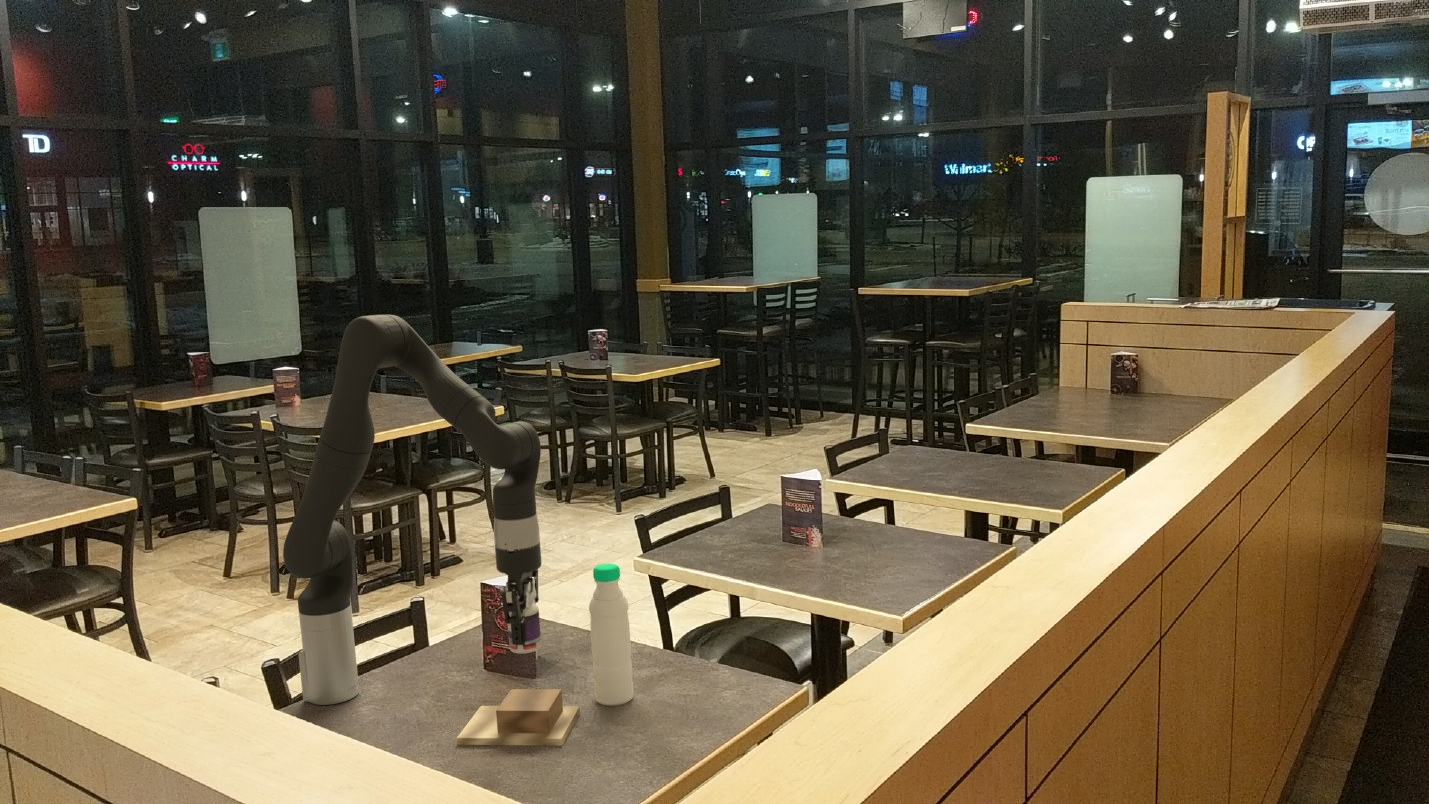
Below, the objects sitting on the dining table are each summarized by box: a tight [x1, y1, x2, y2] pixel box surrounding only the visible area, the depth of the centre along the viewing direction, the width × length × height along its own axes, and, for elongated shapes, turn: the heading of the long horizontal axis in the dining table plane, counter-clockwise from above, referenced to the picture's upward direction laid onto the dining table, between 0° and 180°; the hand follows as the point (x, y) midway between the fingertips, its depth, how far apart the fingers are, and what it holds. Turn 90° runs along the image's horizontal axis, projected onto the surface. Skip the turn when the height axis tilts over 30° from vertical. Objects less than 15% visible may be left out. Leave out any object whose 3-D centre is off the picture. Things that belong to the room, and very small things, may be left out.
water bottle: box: [588, 563, 635, 707], centre depth 207 cm, size 7×7×25 cm
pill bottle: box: [507, 591, 542, 655], centre depth 196 cm, size 5×5×10 cm
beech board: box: [456, 705, 581, 747], centre depth 199 cm, size 18×13×1 cm
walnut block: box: [496, 688, 563, 733], centre depth 198 cm, size 9×9×4 cm
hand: (524, 637), depth 196 cm, fingers closed on pill bottle, 5 cm apart
